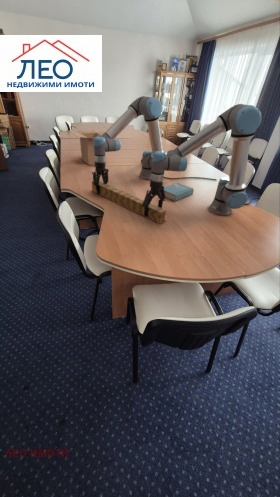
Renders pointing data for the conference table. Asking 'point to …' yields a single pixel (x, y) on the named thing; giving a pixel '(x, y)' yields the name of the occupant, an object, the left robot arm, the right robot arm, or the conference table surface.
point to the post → (130, 202)
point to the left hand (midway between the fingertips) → (101, 192)
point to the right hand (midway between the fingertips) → (152, 212)
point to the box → (88, 145)
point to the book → (177, 191)
